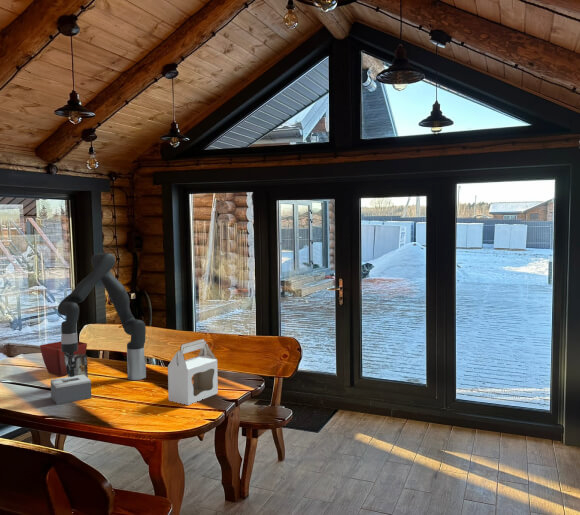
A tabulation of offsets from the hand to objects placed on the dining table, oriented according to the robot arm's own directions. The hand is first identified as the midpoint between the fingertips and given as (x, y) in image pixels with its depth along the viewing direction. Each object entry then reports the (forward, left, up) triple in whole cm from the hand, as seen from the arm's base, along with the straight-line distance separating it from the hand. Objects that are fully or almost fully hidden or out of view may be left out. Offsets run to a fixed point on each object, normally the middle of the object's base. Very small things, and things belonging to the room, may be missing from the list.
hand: (70, 375), depth 265 cm
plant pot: (-8, -50, -12) cm, 52 cm away
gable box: (-50, +35, -12) cm, 62 cm away
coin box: (0, 0, -11) cm, 11 cm away
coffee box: (-8, -19, -12) cm, 24 cm away
